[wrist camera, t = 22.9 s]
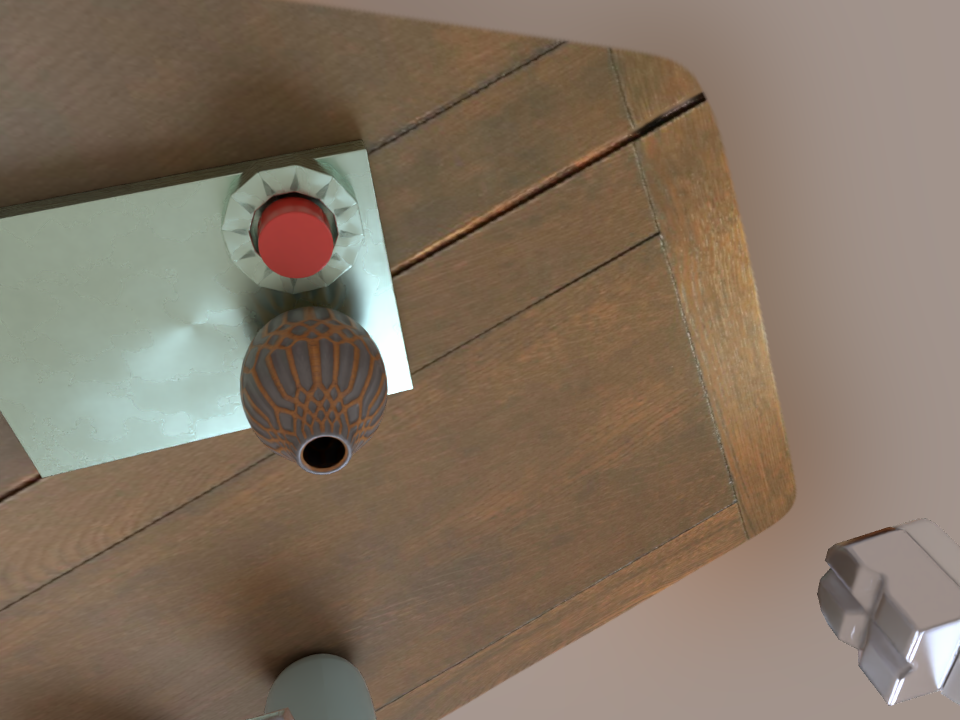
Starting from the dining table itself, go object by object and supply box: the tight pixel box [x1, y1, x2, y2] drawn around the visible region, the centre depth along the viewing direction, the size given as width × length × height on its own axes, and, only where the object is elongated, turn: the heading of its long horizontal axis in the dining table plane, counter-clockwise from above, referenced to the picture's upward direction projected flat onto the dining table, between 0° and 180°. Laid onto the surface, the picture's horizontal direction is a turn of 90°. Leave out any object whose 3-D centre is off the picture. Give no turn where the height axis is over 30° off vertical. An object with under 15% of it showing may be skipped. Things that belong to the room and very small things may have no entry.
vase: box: [240, 306, 388, 475], centre depth 36 cm, size 7×7×9 cm
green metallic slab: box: [0, 140, 413, 478], centre depth 37 cm, size 20×14×3 cm
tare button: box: [257, 197, 333, 278], centre depth 33 cm, size 3×3×2 cm
